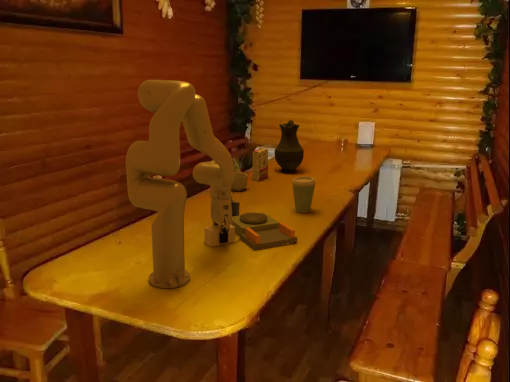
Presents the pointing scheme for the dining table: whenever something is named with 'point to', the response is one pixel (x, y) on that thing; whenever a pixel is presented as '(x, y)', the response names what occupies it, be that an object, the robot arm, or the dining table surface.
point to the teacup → (239, 181)
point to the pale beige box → (218, 235)
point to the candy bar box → (260, 164)
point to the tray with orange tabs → (262, 230)
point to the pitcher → (289, 148)
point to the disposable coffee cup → (303, 193)
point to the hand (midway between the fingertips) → (220, 239)
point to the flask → (235, 207)
